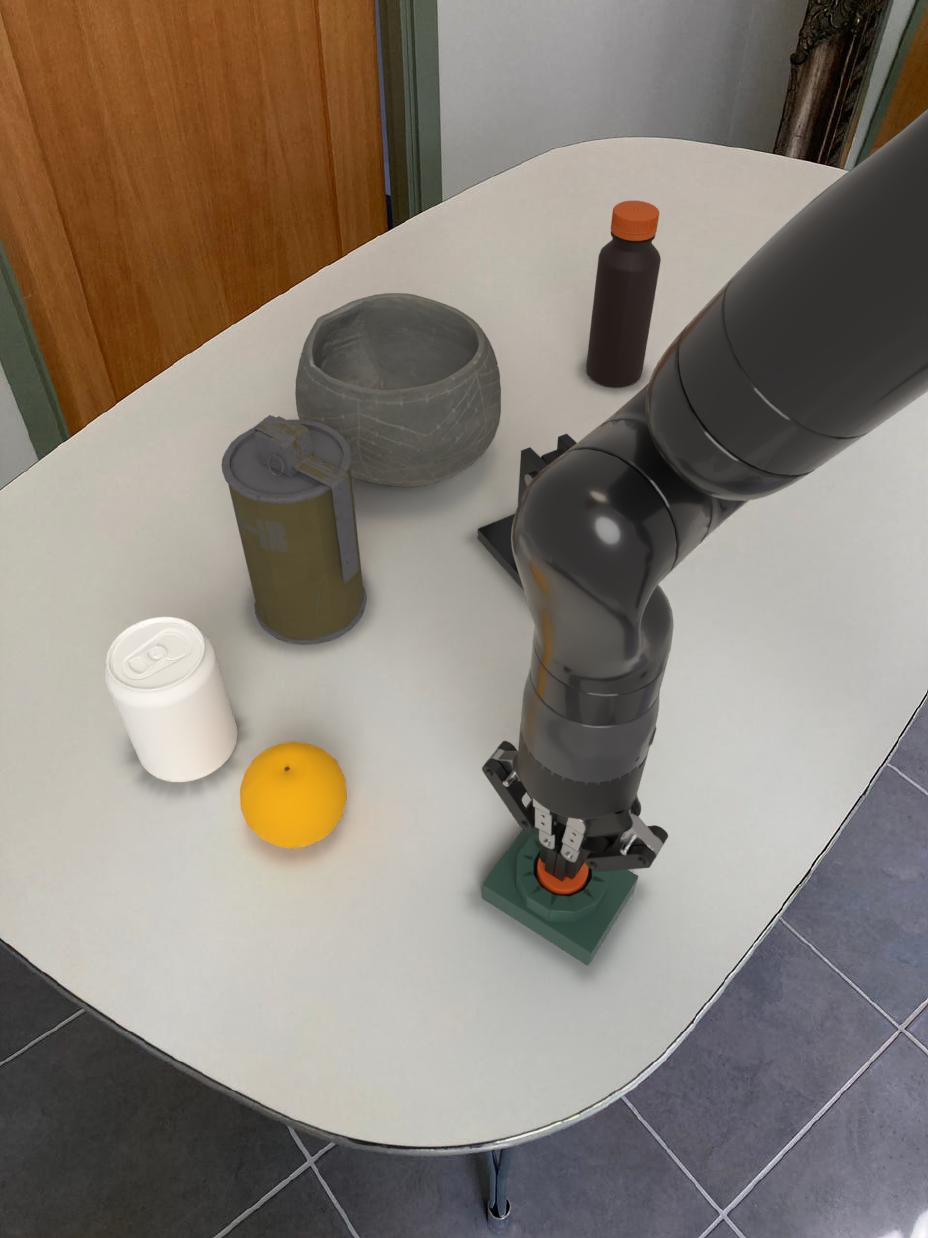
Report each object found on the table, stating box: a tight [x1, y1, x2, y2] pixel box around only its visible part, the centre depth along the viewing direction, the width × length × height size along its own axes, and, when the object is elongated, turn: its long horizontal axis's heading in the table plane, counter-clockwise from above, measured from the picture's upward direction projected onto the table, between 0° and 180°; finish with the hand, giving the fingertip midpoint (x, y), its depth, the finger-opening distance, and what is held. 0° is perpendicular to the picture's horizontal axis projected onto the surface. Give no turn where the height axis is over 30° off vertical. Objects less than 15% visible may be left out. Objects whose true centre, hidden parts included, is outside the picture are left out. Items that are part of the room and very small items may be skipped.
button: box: [536, 857, 588, 896], centre depth 68 cm, size 4×4×2 cm
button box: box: [481, 828, 639, 967], centre depth 69 cm, size 9×7×4 cm
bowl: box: [294, 292, 502, 488], centre depth 99 cm, size 21×21×15 cm
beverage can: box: [103, 616, 238, 783], centre depth 75 cm, size 8×8×12 cm
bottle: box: [585, 200, 662, 388], centre depth 108 cm, size 7×7×20 cm
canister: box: [220, 414, 367, 645], centre depth 83 cm, size 11×10×20 cm
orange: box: [239, 741, 348, 849], centre depth 72 cm, size 8×8×8 cm
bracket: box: [477, 433, 578, 591], centre depth 90 cm, size 12×9×13 cm
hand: (561, 867), depth 67 cm, fingers closed
